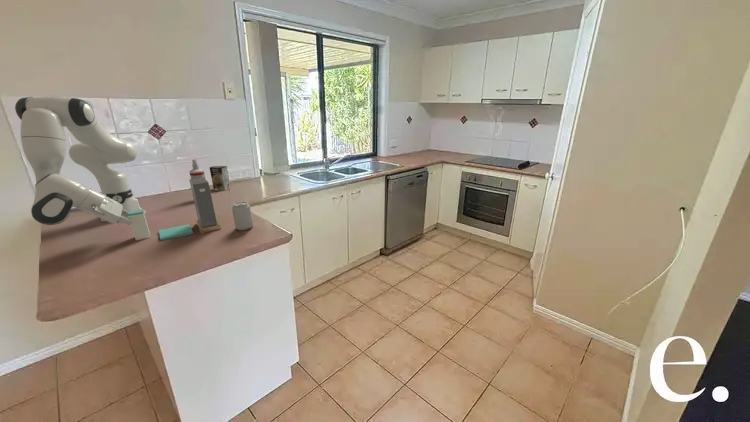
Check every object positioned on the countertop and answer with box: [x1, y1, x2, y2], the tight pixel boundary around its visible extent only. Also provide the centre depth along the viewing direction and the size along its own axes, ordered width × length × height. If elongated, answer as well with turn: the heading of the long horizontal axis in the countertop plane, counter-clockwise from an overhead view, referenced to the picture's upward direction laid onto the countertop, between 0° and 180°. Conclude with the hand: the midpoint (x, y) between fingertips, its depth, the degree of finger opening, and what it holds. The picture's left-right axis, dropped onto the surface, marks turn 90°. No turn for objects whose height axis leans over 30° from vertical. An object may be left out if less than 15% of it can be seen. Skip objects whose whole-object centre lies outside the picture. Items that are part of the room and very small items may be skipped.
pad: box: [158, 223, 194, 241], centre depth 135 cm, size 12×12×1 cm
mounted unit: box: [189, 177, 222, 234], centre depth 138 cm, size 15×8×22 cm, turn 36°
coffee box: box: [209, 165, 231, 191], centre depth 208 cm, size 9×6×16 cm
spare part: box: [128, 208, 151, 241], centre depth 129 cm, size 5×5×12 cm
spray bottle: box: [188, 158, 206, 179], centre depth 182 cm, size 8×8×25 cm
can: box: [231, 201, 254, 231], centre depth 137 cm, size 8×8×12 cm
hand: (131, 220), depth 127 cm, fingers open, 8 cm apart
